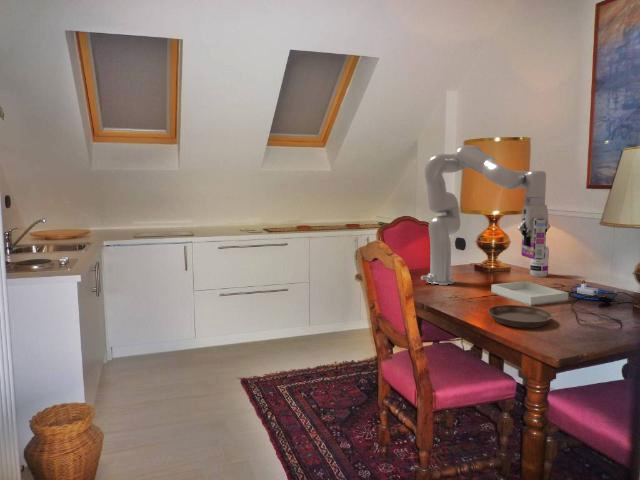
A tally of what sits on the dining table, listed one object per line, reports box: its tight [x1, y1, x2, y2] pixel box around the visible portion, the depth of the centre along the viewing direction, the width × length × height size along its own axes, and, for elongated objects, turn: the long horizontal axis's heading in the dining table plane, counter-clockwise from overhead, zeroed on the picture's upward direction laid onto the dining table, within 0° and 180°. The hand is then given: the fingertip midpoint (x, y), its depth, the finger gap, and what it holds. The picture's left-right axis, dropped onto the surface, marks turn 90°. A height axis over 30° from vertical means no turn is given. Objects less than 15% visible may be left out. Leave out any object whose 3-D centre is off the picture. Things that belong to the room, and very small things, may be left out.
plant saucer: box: [488, 304, 553, 329], centre depth 178 cm, size 21×21×3 cm
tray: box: [490, 280, 569, 307], centre depth 211 cm, size 18×24×4 cm
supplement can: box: [529, 244, 550, 278], centre depth 251 cm, size 8×8×15 cm
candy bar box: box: [521, 218, 547, 259], centre depth 208 cm, size 11×5×16 cm, turn 4°
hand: (533, 245), depth 209 cm, fingers closed on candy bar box, 5 cm apart
